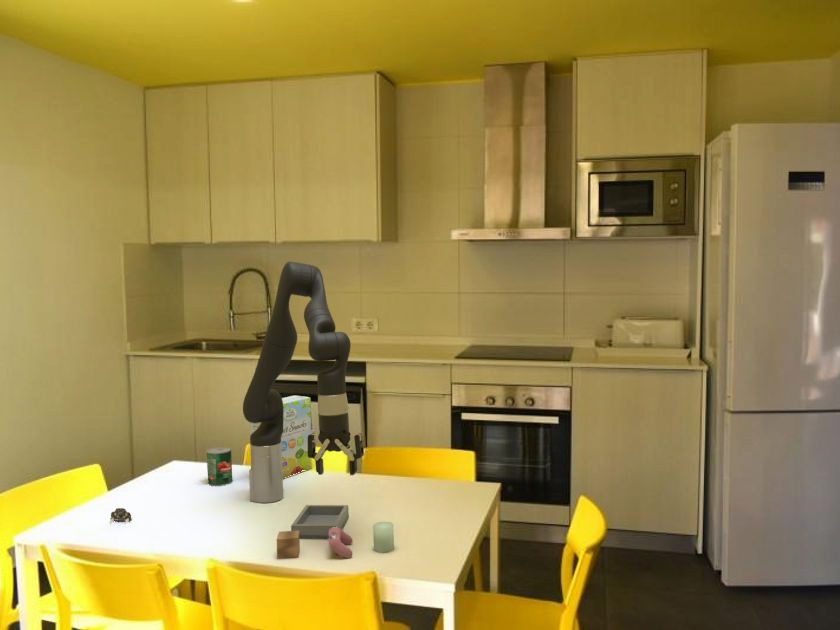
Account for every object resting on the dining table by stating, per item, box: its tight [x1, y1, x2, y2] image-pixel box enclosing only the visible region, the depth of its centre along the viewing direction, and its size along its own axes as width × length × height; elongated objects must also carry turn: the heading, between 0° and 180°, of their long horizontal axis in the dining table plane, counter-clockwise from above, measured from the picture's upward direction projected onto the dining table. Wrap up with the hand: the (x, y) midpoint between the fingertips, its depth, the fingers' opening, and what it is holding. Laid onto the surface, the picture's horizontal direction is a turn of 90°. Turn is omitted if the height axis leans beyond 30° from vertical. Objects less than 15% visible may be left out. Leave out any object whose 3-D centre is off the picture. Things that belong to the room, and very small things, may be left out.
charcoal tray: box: [290, 504, 350, 540], centre depth 194 cm, size 12×16×4 cm
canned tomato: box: [206, 446, 233, 487], centre depth 238 cm, size 8×8×11 cm
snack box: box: [249, 395, 313, 479], centre depth 244 cm, size 22×9×26 cm, turn 147°
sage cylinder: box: [372, 521, 395, 554], centre depth 179 cm, size 5×5×6 cm
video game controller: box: [327, 526, 354, 559], centre depth 178 cm, size 10×5×7 cm, turn 5°
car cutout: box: [109, 507, 133, 525], centre depth 202 cm, size 15×7×4 cm, turn 80°
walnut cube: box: [276, 530, 301, 560], centre depth 177 cm, size 5×5×5 cm
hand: (336, 474), depth 183 cm, fingers open, 8 cm apart
